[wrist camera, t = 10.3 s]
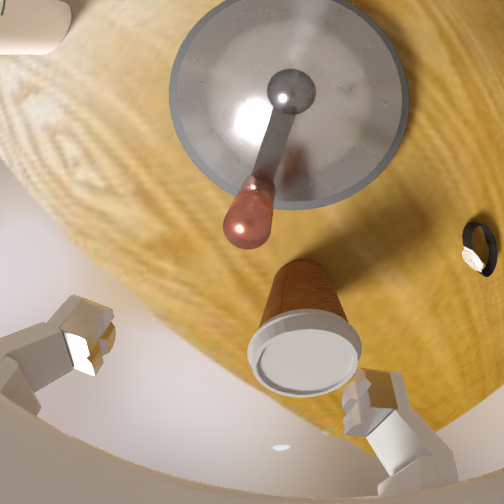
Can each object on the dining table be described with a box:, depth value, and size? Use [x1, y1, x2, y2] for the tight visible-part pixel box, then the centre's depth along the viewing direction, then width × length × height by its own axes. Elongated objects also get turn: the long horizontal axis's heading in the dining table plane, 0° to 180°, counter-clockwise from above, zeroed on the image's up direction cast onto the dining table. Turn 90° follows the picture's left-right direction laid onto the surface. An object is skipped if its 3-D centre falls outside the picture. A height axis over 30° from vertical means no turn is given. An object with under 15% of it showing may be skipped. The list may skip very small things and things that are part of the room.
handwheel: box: [177, 0, 402, 249], centre depth 18 cm, size 19×18×10 cm
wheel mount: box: [169, 0, 409, 210], centre depth 23 cm, size 21×21×2 cm
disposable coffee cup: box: [247, 260, 361, 397], centre depth 28 cm, size 10×10×12 cm
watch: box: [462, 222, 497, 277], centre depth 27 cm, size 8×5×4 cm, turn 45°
